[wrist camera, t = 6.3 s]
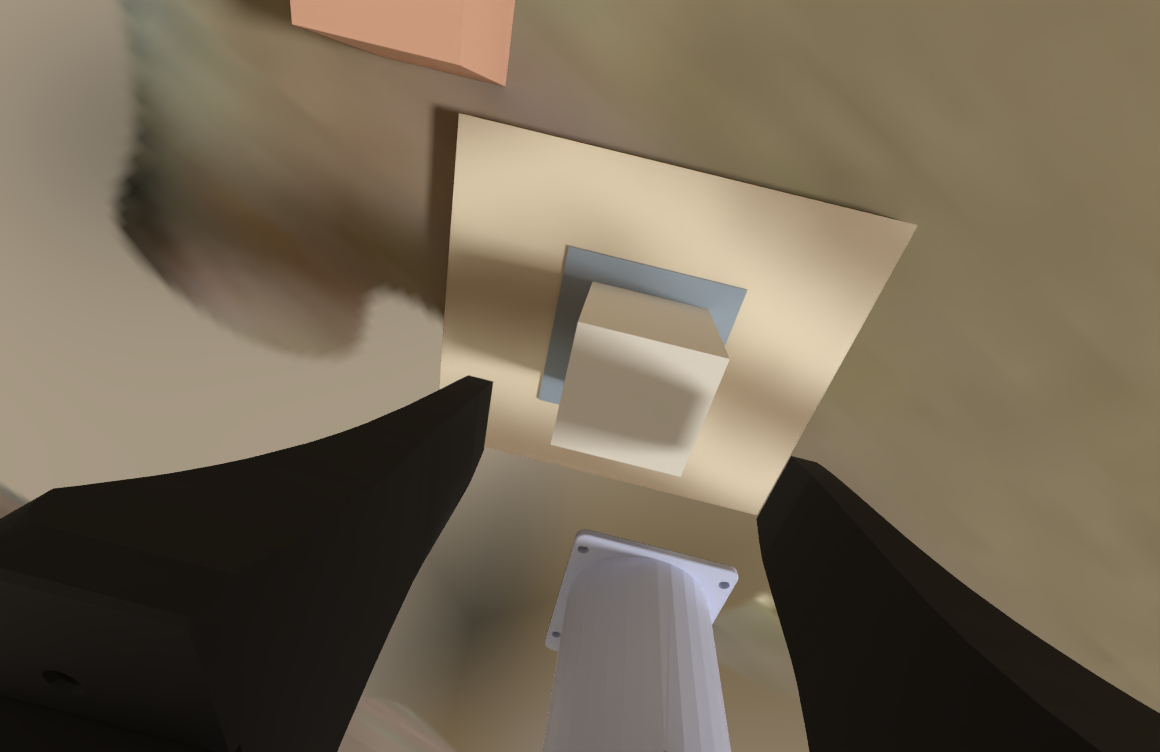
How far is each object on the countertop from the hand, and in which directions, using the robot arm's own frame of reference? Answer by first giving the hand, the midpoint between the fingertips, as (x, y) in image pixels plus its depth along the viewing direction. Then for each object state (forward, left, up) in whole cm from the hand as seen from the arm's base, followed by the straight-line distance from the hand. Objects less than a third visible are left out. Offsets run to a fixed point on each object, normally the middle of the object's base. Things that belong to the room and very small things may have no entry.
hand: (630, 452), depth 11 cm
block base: (0, 0, -6) cm, 6 cm away
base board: (0, 0, -7) cm, 7 cm away
